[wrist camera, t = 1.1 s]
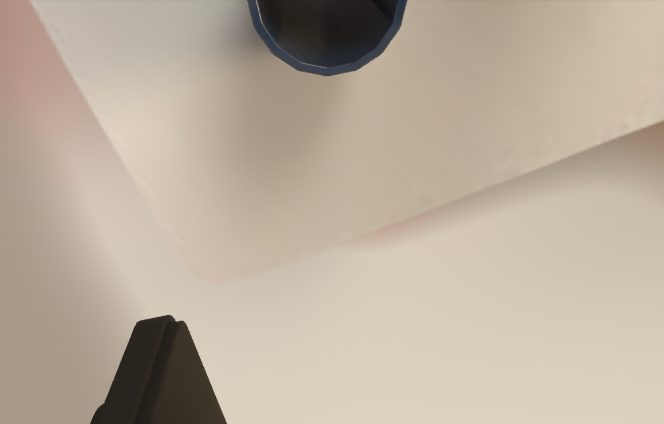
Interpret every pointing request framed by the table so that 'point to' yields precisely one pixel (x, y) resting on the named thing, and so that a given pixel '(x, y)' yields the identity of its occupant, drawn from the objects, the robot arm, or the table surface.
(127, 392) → the robot arm
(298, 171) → the table surface
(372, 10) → the cup
